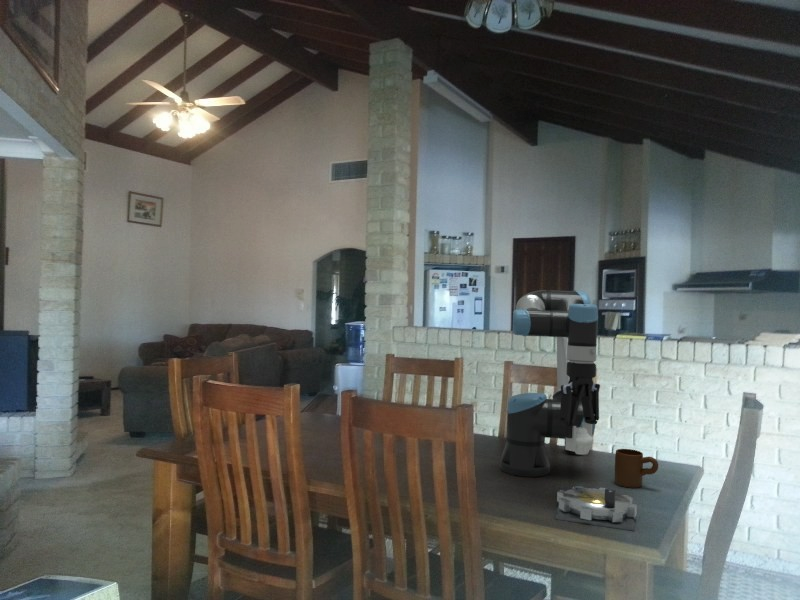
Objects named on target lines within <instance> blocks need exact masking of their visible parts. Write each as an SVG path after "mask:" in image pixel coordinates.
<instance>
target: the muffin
mask: <svg viewBox="0 0 800 600" xmlns="http://www.w3.org/2000/svg"><path fill="white" fill-rule="evenodd" d="M593 438H594V437H591V436H590V435H589V434H588V433H587V430H586V429H585V428H583V427H578V428H576V451H575V453H576V454H580V456H584V455H588V454H589V451H590V450H591V449H590V448H591V446H592V447H593V443H594V439H593Z"/></svg>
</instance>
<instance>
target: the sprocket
mask: <svg viewBox="0 0 800 600" xmlns="http://www.w3.org/2000/svg"><path fill="white" fill-rule="evenodd" d="M571 487H572V488H571V489H567V490H565V489H559V490H558V491H557V492H556V502H558V505H559V509H561V510H562V511H563V512H569V511H570V512H572V513H574V514H577V515H580V518H582V519H586V520H592V519H600V520H610V521H611V522H622V520H623V518H625V517H627V516H629V517H633V518H634V519H635V517H636V516H637V515H638V514H637V512H638V504H635V503H634V502H633V500H634V498H633V497H631V496H630V495H628V494H621V493H617V492H616V490H615V489H614V488H605V487H601V486H600V487H599V488H594V487H593V488H592V487H584V486H582V485H576V486H575V485H573V486H571ZM632 503H633V504H632Z"/></svg>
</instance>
